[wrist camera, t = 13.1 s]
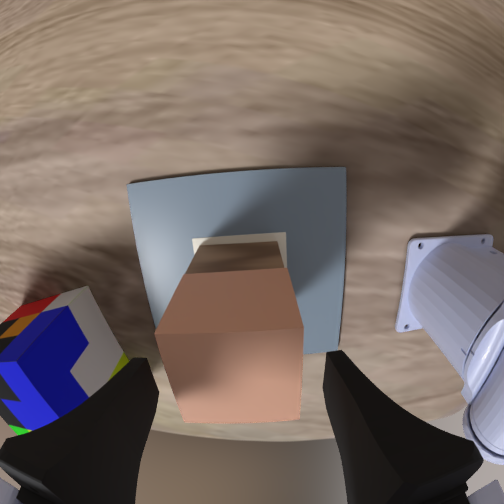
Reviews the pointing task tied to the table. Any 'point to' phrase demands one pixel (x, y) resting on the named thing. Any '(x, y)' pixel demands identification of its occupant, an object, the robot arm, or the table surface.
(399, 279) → the table surface
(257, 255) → the walnut block
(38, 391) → the puzzle toy
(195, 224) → the plate
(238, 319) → the terracotta block
